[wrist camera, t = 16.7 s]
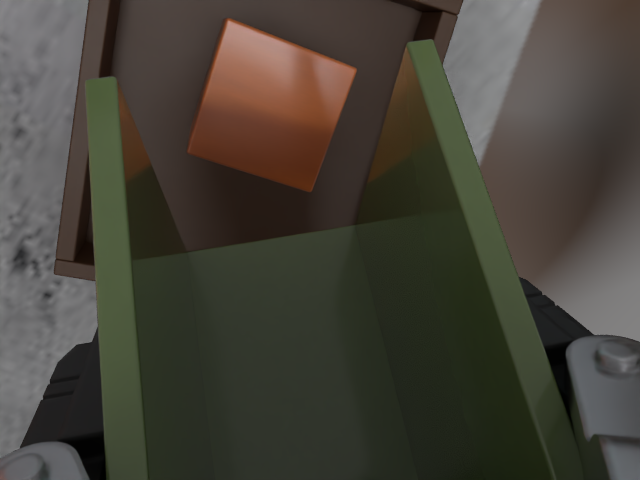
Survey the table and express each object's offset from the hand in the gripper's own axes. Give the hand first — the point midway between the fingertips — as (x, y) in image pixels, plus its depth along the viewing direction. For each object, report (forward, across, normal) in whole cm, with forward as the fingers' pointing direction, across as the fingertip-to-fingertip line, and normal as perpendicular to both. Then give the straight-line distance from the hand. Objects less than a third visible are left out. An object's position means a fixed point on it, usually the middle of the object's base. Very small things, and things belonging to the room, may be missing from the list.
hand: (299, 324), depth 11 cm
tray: (+11, 0, -2) cm, 12 cm away
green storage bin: (+2, 0, +4) cm, 4 cm away
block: (+9, 0, -1) cm, 9 cm away
